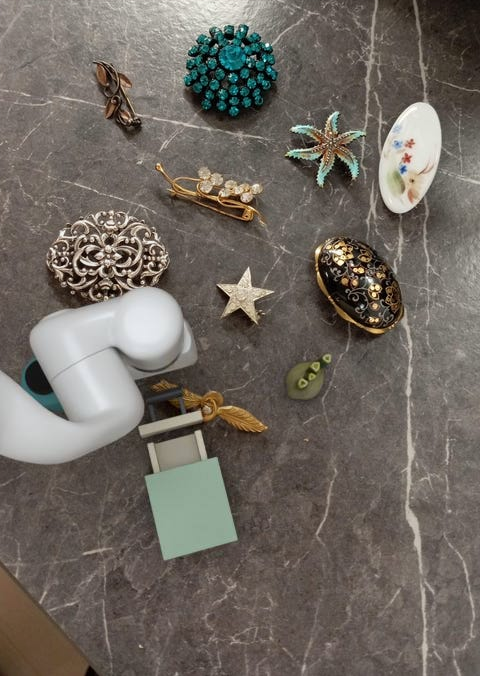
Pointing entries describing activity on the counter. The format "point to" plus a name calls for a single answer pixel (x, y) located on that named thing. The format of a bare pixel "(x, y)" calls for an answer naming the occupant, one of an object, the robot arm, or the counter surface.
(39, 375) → the beverage bottle
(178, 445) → the drawer
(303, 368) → the fennel bulb
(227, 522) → the green drawer cabinet
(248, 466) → the counter surface
